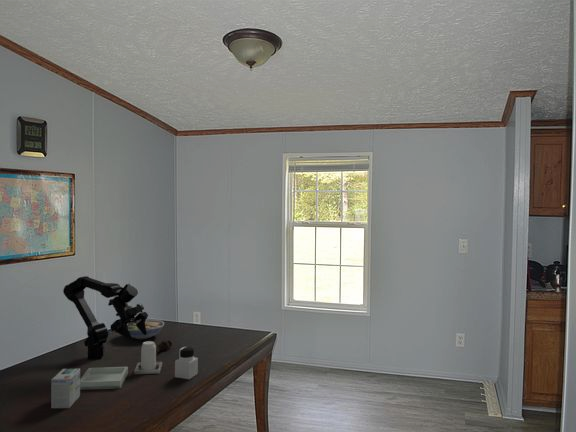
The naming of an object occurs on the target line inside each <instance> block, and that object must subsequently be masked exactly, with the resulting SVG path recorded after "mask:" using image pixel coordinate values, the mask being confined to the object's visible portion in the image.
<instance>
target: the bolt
mask: <svg viewBox="0 0 576 432" xmlns="http://www.w3.org/2000/svg"><path fill="white" fill-rule="evenodd" d="M172 344H173V342H172V341H171V340H162V341H161V342H160V343H159V344H155V345H156V357H157V356H158V354H159V353H160V352H162V351H168V350H169V348H171V347H172V346H173V345H172Z"/></svg>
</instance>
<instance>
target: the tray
mask: <svg viewBox="0 0 576 432" xmlns="http://www.w3.org/2000/svg"><path fill="white" fill-rule="evenodd" d="M128 374H129V366H112V367H111V366H108V367H106V366H105V367H104V366H103V367H89V368H88V369H87V370H86V371H85V372H84V374H83V375H82V376H81V377H80V391H83V390H84V391H85V390H86V391H87V390H89V391H90V390H109V389H110V390H111V389H113V390H114V389H121V388H122V386H123V384H124V383H125V380H126V378H127V377H128Z"/></svg>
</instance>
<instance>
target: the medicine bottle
mask: <svg viewBox="0 0 576 432" xmlns="http://www.w3.org/2000/svg"><path fill="white" fill-rule="evenodd" d="M178 356H179V358H178V359H176V360H175V361H174V378H177V379H178V378H179V379H185V380H191V379H192V378H194V377H195V376H197V375H199V374H198V371H199V370H198V369H199V367H198V366H199V365H198V364H199V357H195V348H193V347H192V346H183V347H181V348H180V349H179V355H178Z"/></svg>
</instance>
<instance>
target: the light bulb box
mask: <svg viewBox="0 0 576 432" xmlns="http://www.w3.org/2000/svg"><path fill="white" fill-rule="evenodd" d="M80 379H81V368H62V369H61V370H60V371H59V372H58V373H57V374H56V375H54V377H52V378H51V379H50V381H51V382H50V383H51V392H50V393H51V397H50V399H51V403H50V405H51V407H50V408H51V409H70V408H71V407H72V405H74V403H75V402H76V401H77V400H78V399H79V398H80V396H81V390H80Z"/></svg>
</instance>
